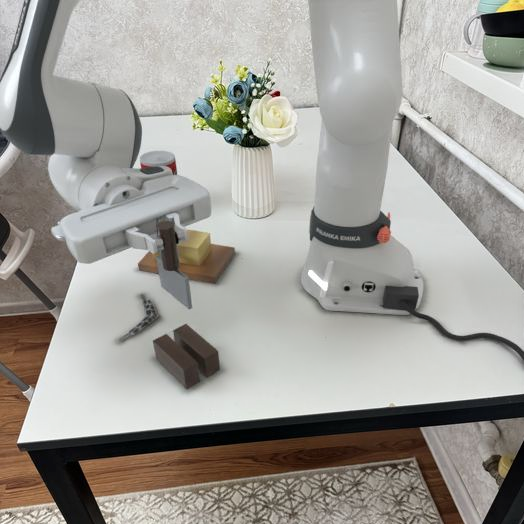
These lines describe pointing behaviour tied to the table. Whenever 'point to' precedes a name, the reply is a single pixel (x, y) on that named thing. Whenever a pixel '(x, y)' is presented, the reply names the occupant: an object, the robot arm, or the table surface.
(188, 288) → the butter cutter
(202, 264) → the butter board
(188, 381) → the knife block
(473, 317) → the table surface
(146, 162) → the canned food
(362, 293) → the robot arm
